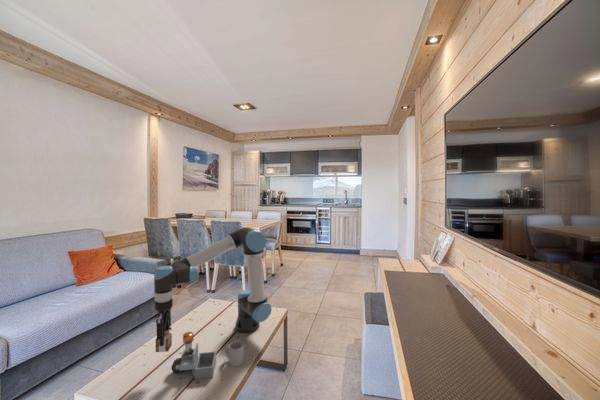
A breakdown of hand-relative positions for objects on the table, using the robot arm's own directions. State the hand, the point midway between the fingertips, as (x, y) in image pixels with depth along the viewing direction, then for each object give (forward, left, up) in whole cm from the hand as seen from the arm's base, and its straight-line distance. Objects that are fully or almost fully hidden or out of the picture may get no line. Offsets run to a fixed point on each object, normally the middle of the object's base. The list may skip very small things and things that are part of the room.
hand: (164, 347), depth 123 cm
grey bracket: (-9, 0, -12) cm, 15 cm away
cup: (-32, -3, -13) cm, 35 cm away
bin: (-19, +1, -12) cm, 23 cm away
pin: (-10, -2, -6) cm, 12 cm away
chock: (0, 0, 0) cm, 1 cm away
